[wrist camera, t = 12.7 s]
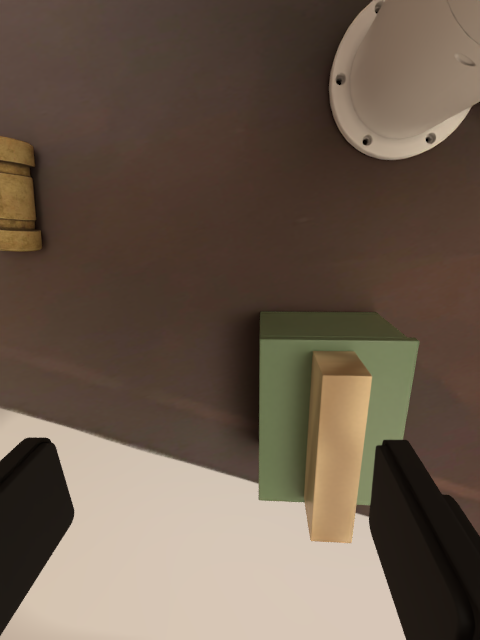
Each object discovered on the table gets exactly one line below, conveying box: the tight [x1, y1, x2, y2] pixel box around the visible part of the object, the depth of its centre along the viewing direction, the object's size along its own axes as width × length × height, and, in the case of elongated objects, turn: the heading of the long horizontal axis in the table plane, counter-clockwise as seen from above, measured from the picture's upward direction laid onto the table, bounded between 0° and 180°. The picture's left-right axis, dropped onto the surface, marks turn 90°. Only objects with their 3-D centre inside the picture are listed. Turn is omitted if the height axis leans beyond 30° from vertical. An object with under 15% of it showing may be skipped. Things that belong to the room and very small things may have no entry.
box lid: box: [259, 336, 419, 505], centre depth 29 cm, size 13×18×1 cm
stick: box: [304, 351, 372, 543], centre depth 27 cm, size 4×16×4 cm, turn 1°
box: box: [260, 312, 407, 338], centre depth 33 cm, size 13×18×8 cm
